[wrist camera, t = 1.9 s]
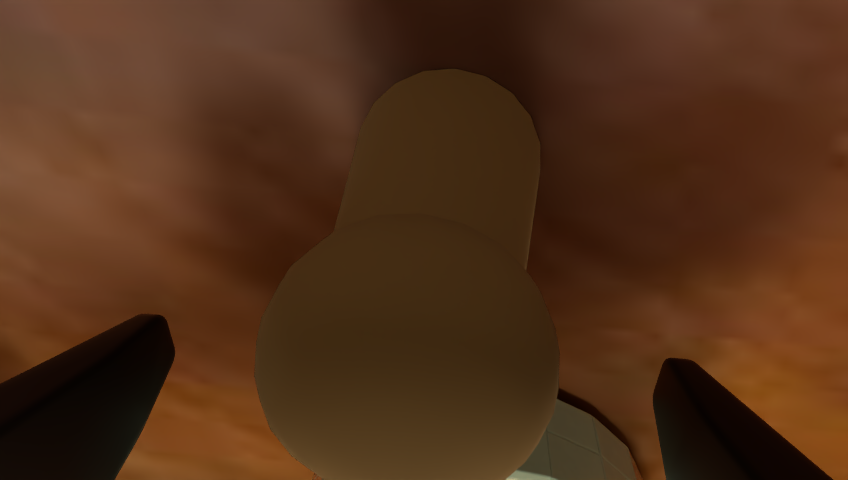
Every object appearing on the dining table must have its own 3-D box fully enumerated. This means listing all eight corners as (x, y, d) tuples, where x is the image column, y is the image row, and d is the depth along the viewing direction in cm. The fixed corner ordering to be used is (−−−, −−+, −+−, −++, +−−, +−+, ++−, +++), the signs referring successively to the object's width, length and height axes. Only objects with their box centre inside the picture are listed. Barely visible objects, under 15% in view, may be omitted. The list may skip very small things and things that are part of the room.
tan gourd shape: (557, 76, 15) (657, 301, 6) (526, 251, 19) (560, 580, 9) (355, 60, 16) (153, 247, 6) (357, 233, 19) (223, 531, 10)
